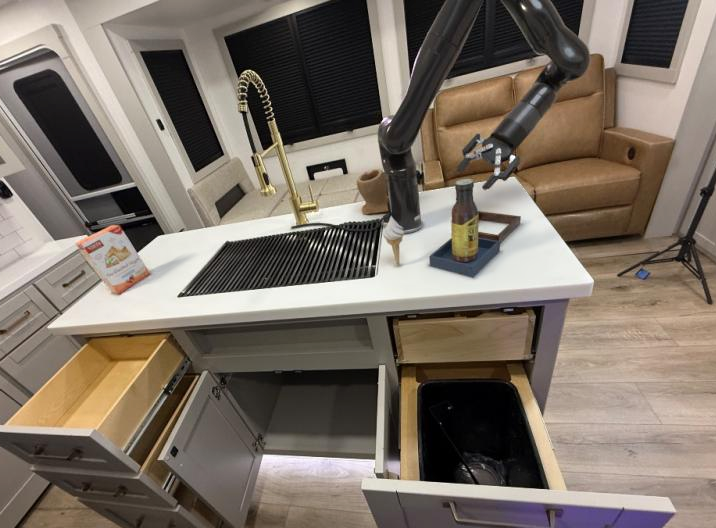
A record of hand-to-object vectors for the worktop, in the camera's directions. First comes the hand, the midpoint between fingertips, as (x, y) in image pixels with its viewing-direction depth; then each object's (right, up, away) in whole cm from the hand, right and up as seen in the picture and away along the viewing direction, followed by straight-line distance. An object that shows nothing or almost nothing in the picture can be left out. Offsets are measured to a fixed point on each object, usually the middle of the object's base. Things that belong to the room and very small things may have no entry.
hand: (470, 180), depth 91 cm
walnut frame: (+7, -12, +6) cm, 16 cm away
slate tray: (-3, -21, -2) cm, 22 cm away
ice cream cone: (-19, -23, +3) cm, 30 cm away
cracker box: (-114, -26, +37) cm, 123 cm away
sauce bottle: (-2, -21, -3) cm, 21 cm away
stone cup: (-19, +1, +36) cm, 41 cm away
